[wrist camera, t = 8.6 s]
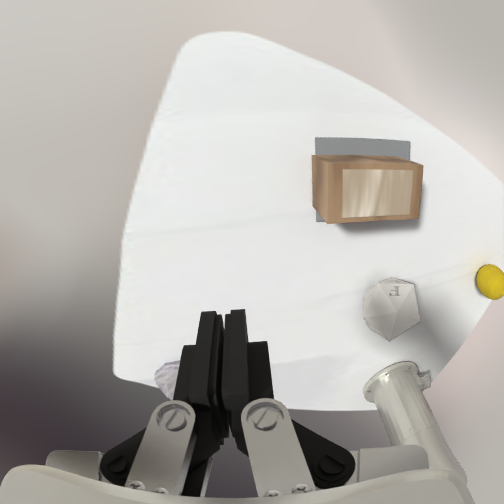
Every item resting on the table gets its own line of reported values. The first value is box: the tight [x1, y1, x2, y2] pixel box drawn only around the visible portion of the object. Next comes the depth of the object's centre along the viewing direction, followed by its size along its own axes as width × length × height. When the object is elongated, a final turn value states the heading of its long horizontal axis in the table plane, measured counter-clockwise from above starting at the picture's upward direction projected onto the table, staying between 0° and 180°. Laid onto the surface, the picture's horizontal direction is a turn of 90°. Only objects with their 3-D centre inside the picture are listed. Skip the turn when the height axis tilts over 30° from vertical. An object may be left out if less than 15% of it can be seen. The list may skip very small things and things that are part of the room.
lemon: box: [477, 264, 504, 300], centre depth 35 cm, size 6×6×8 cm
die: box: [363, 277, 420, 341], centre depth 36 cm, size 8×9×10 cm
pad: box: [315, 138, 410, 222], centre depth 31 cm, size 13×10×1 cm
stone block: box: [155, 361, 180, 400], centre depth 44 cm, size 12×5×10 cm
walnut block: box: [312, 155, 423, 224], centre depth 29 cm, size 6×6×11 cm
